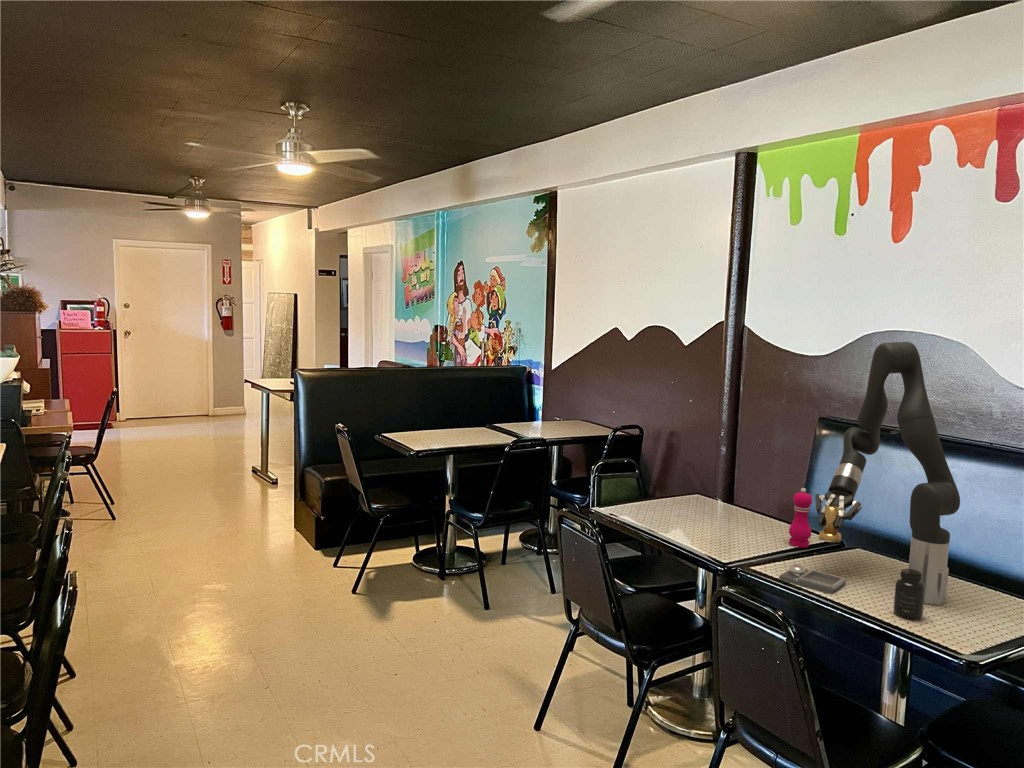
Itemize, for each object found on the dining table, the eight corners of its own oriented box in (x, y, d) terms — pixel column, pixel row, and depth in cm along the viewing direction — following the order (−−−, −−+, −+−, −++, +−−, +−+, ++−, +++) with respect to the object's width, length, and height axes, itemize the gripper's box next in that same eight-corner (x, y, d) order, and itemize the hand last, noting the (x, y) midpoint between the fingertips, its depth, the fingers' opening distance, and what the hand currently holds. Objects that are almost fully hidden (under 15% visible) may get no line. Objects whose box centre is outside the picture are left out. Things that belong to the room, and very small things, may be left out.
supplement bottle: (896, 608, 195) (900, 565, 194) (924, 615, 191) (928, 571, 190) (890, 615, 190) (894, 571, 189) (919, 623, 186) (923, 578, 185)
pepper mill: (813, 548, 245) (818, 491, 243) (792, 547, 245) (796, 490, 244) (805, 541, 252) (810, 486, 251) (784, 541, 253) (789, 485, 251)
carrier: (846, 584, 212) (847, 573, 212) (832, 594, 203) (833, 583, 203) (795, 570, 222) (795, 560, 222) (779, 579, 214) (779, 569, 213)
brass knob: (843, 539, 218) (846, 507, 217) (836, 543, 213) (838, 510, 212) (823, 535, 222) (825, 503, 221) (815, 538, 217) (818, 506, 217)
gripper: (819, 470, 226) (801, 514, 218) (867, 478, 216) (850, 525, 209) (825, 484, 230) (807, 528, 223) (872, 492, 221) (855, 539, 213)
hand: (828, 526), depth 216 cm, fingers closed on brass knob, 3 cm apart
